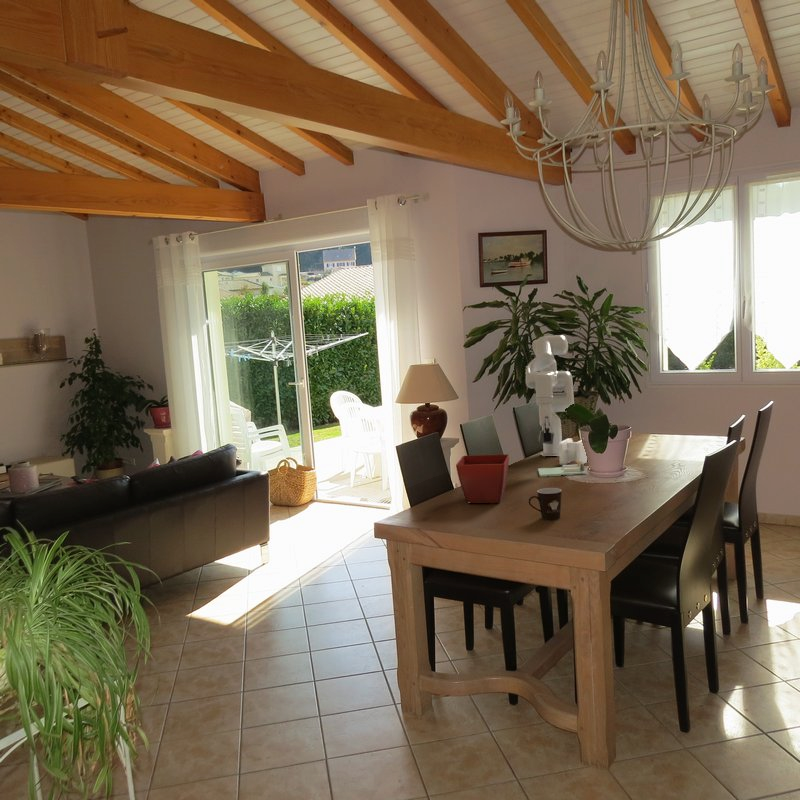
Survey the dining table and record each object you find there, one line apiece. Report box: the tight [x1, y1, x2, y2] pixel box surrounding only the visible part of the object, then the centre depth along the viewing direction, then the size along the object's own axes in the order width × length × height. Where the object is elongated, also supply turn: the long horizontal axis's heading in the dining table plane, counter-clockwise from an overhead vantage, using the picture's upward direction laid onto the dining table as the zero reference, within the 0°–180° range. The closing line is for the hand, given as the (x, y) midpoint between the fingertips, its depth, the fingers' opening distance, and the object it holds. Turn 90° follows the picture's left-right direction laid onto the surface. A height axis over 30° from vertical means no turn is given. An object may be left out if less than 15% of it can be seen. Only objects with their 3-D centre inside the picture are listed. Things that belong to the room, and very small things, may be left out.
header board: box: [537, 460, 586, 478], centre depth 349 cm, size 14×20×5 cm
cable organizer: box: [558, 437, 588, 466], centre depth 365 cm, size 15×11×12 cm
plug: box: [538, 429, 554, 444], centre depth 348 cm, size 4×6×5 cm, turn 83°
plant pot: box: [455, 453, 510, 504], centre depth 308 cm, size 19×19×17 cm
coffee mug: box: [528, 487, 563, 521], centre depth 275 cm, size 12×9×10 cm
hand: (547, 440), depth 348 cm, fingers closed on plug, 3 cm apart
